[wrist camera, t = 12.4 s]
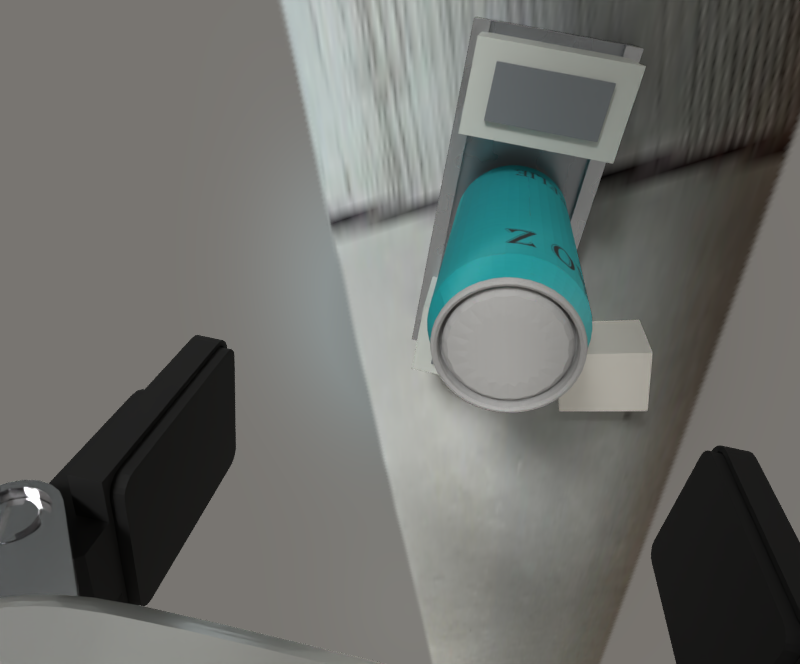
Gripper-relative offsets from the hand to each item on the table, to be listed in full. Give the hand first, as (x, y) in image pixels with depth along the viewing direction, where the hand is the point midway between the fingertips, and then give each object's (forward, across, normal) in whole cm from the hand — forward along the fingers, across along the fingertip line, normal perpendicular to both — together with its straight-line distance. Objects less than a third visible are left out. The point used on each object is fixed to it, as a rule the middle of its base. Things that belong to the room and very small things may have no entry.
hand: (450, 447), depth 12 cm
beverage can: (+23, -2, +2) cm, 23 cm away
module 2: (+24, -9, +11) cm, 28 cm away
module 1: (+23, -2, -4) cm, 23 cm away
